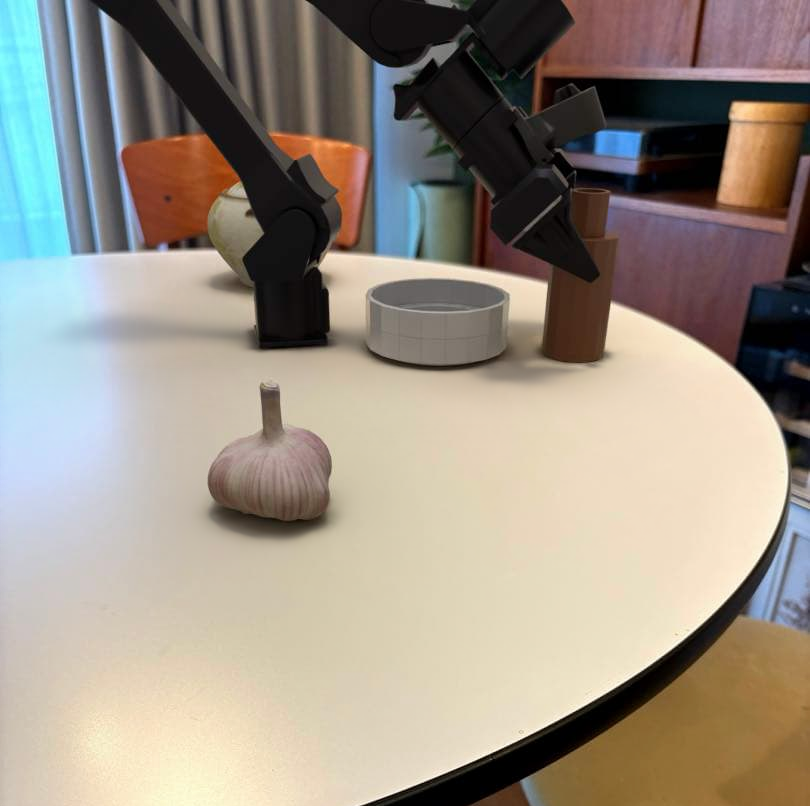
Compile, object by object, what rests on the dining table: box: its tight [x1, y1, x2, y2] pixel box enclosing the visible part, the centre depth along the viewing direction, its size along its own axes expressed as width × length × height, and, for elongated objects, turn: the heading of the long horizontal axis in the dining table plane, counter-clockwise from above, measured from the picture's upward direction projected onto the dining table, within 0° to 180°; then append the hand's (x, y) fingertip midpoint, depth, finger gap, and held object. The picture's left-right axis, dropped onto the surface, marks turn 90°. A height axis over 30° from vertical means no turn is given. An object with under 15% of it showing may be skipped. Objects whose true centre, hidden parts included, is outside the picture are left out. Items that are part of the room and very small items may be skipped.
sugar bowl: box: [206, 181, 333, 288], centre depth 97 cm, size 20×15×15 cm
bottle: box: [541, 187, 621, 363], centre depth 73 cm, size 6×6×14 cm
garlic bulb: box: [207, 380, 333, 522], centre depth 48 cm, size 8×7×8 cm
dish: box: [365, 277, 511, 367], centre depth 76 cm, size 13×13×5 cm
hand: (596, 267), depth 73 cm, fingers open, 9 cm apart
